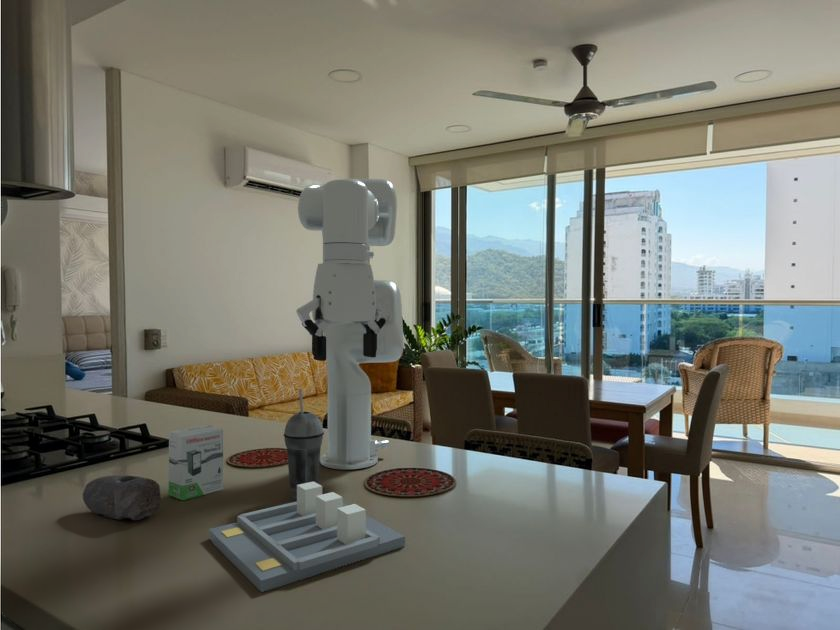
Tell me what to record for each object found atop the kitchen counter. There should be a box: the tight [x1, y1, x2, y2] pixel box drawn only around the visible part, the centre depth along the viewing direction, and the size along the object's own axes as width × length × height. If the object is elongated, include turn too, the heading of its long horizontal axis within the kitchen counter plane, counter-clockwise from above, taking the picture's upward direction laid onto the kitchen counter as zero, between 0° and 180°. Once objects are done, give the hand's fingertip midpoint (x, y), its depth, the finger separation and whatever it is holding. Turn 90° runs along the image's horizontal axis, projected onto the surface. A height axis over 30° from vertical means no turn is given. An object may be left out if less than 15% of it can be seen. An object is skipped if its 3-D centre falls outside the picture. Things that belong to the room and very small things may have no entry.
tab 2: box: [316, 491, 344, 529], centre depth 89 cm, size 3×3×4 cm
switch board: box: [208, 501, 406, 593], centre depth 87 cm, size 22×21×2 cm
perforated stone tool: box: [82, 475, 162, 521], centre depth 97 cm, size 15×5×7 cm, turn 68°
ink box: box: [168, 425, 224, 501], centre depth 108 cm, size 9×5×12 cm, turn 140°
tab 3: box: [337, 503, 367, 544], centre depth 84 cm, size 3×3×4 cm
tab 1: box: [296, 481, 323, 516], centre depth 94 cm, size 3×3×4 cm
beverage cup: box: [283, 388, 325, 501], centre depth 106 cm, size 7×7×20 cm
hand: (345, 358), depth 98 cm, fingers open, 9 cm apart
